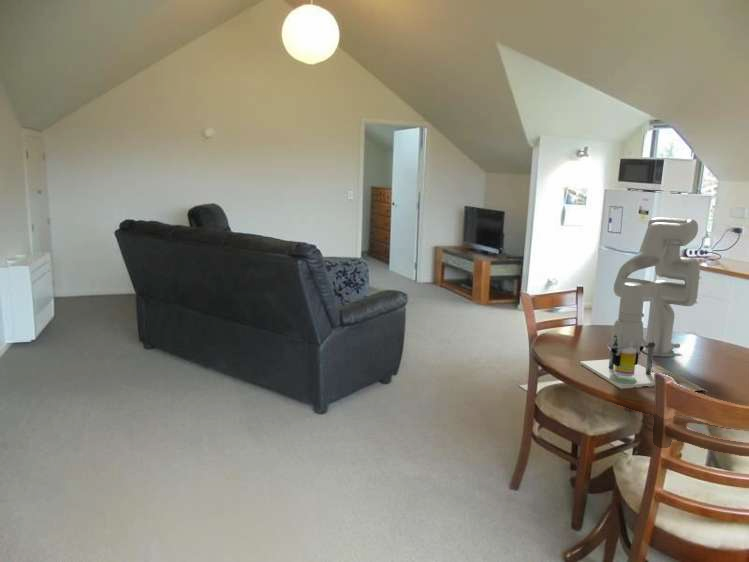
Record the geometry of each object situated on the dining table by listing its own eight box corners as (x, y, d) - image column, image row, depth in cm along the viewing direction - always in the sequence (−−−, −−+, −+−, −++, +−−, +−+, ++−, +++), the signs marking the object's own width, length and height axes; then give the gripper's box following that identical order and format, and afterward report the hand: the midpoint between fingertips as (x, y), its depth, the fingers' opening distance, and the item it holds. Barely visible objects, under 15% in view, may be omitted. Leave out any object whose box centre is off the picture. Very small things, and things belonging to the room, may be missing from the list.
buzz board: (625, 360, 215) (626, 357, 215) (671, 384, 191) (672, 380, 191) (580, 364, 211) (580, 360, 211) (620, 388, 187) (621, 384, 187)
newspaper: (706, 394, 185) (707, 389, 185) (688, 395, 184) (689, 390, 184) (661, 370, 208) (661, 365, 207) (645, 370, 207) (645, 366, 206)
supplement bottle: (636, 377, 188) (640, 343, 186) (616, 376, 190) (620, 342, 187) (631, 371, 195) (634, 337, 192) (612, 369, 196) (615, 336, 193)
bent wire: (624, 360, 213) (627, 329, 210) (653, 374, 197) (657, 342, 195) (597, 361, 210) (600, 331, 208) (624, 377, 195) (628, 344, 192)
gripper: (643, 313, 193) (638, 359, 197) (601, 315, 190) (597, 362, 193) (658, 318, 186) (652, 366, 190) (615, 321, 183) (610, 369, 186)
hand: (624, 363), depth 191 cm, fingers closed on supplement bottle, 6 cm apart
